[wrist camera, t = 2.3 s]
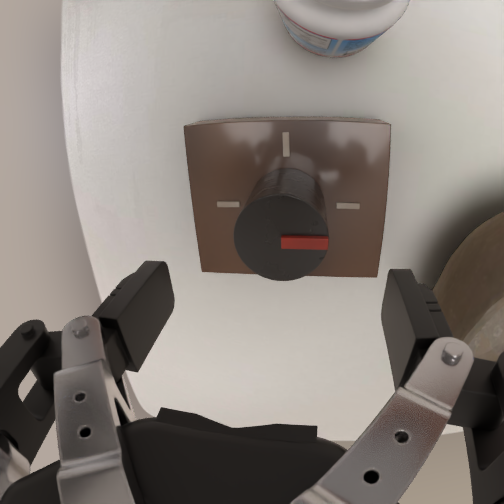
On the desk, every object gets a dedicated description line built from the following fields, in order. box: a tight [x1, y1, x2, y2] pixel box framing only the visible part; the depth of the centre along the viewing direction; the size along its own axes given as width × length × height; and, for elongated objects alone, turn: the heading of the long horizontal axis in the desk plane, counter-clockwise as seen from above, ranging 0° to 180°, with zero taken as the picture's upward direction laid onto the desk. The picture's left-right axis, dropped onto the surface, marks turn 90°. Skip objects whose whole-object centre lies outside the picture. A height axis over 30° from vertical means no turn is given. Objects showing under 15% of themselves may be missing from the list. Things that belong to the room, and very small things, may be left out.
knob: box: [233, 168, 329, 281], centre depth 17 cm, size 4×4×5 cm
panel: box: [184, 117, 391, 277], centre depth 20 cm, size 12×10×3 cm
